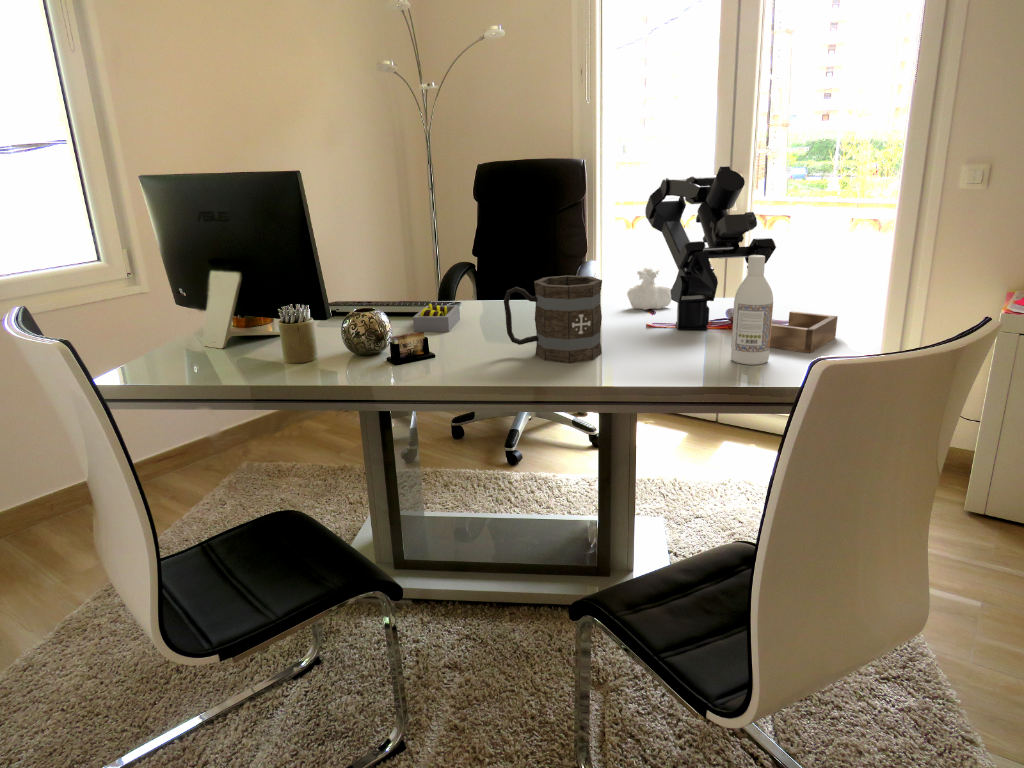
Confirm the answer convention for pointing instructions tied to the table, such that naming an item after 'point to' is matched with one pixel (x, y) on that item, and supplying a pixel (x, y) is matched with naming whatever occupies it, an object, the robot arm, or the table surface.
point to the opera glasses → (434, 311)
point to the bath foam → (752, 316)
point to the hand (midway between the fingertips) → (737, 287)
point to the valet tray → (437, 321)
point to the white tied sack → (649, 292)
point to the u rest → (804, 332)
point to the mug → (563, 318)
